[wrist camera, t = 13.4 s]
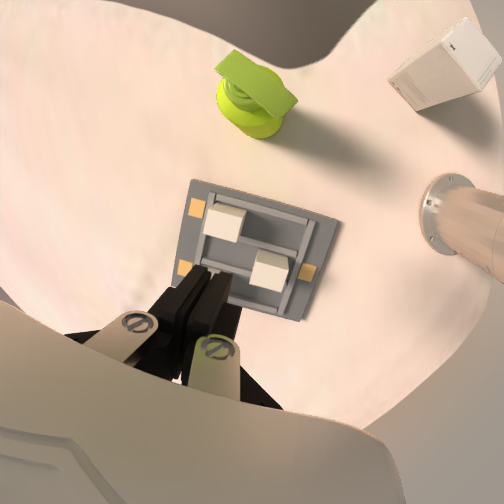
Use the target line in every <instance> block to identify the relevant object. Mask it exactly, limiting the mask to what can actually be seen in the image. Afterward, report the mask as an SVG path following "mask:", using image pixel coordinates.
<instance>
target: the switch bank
mask: <svg viewBox="0 0 504 504" xmlns="http://www.w3.org/2000/svg"><path fill="white" fill-rule="evenodd" d="M217 202H219V203H222V204H226V205H230V206H234V207H237V208H241V209H245V210H247V213H246V216H245V220H244V224H243V228H242V231H241V234H240V236H239V238H238V240H237V242H236V243H235V242H231V241H228V240H224V239H220V238H217V237H213V236H210V235H206V234H203V230H204V226H205V221H206V217H207V212H208V209H209V208H210V207H212V206H213V205H214V204H216V203H217ZM337 222H338V221H337V220H336V219H334V218H331V217H328V216H324V215H321V214H318V213H315V212H312V211H308V210H305V209H302V208H299V207H295V206H292V205H289V204H285V203H282V202H278V201H275V200H271V199H268V198H264V197H261V196H257V195H253V194H250V193H246V192H242V191H239V190H235V189H231V188H227V187H223V186H220V185H216V184H212V183H208V182H204V181H199V180H195V179H192V180H191V182H190V186H189V191H188V195H187V200H186V205H185V209H184V214H183V219H182V225H181V230H180V235H179V241H178V246H177V252H176V258H175V264H174V270H173V276H172V283H171V286H174V287H177V286H178V285H179V284H180V282H181V281H182V280H183V279H184V277H185V276H186V275H187V274H188V272H189V271H190V270H191V269H192V268H193V266H194V265H195V264H197V265H201V266H203V264H204V265H207V266H211V267H214V268H218V269H221V270H225V271H228V272H231V274H233V278H232V282H231V287H230V292H229V296H228V301H227V303H230V304H234V305H238V306H242V307H244V308H248V309H251V310H255V311H259V312H262V313H266V314H270V315H274V316H278V317H281V318H285V319H289V320H293V321H297V322H300V320H301V317H302V315H303V312H304V310H305V308H306V305H307V303H308V300H309V298H310V295H311V293H312V290H313V288H314V285H315V282H316V280H317V277H318V275H319V272H320V269H321V267H322V264H323V261H324V259H325V256H326V253H327V250H328V248H329V245H330V242H331V239H332V236H333V234H334V231H335V228H336V225H337ZM259 248H260V249H264V250H267V251H271V252H274V253H278V254H281V255H285V256H287V257H288V268H289V271H288V274H287V277H286V280H285V283H284V286H283V289H282V291H281V292H278V291H274V290H270V289H267V288H263V287H259V286H256V285H252V284H249V282H250V278H251V274H252V269H253V266H254V262H255V259H256V255H257V252H258V249H259Z"/></svg>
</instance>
